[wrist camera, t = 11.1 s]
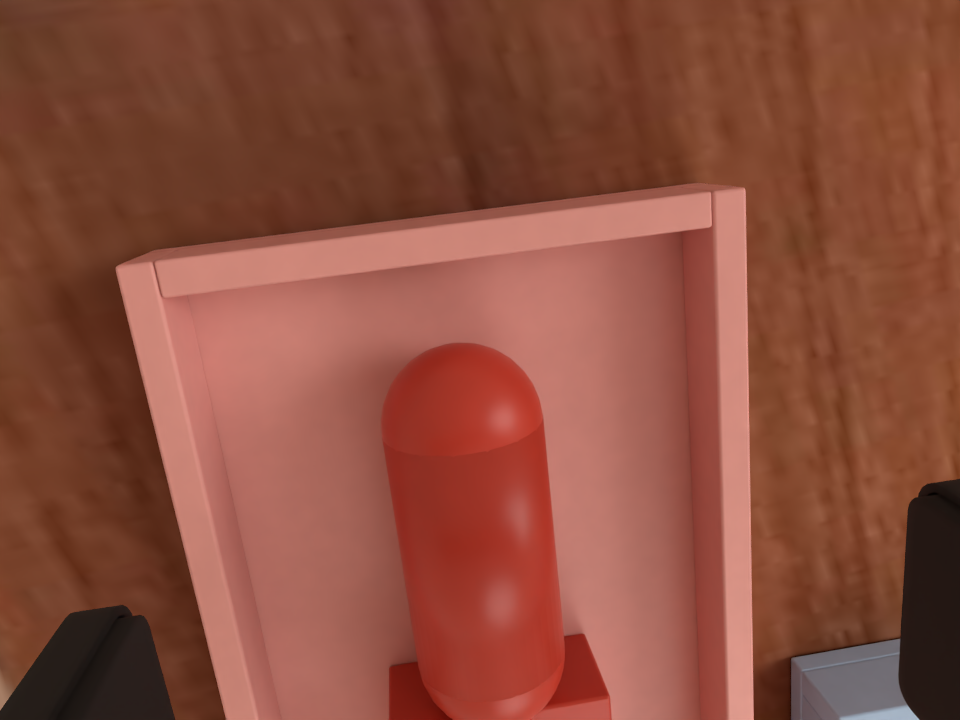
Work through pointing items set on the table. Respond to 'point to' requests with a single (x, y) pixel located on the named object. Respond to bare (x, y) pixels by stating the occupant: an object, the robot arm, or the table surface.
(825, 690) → the blue tray
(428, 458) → the red stamp
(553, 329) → the rose tray
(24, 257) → the table surface
